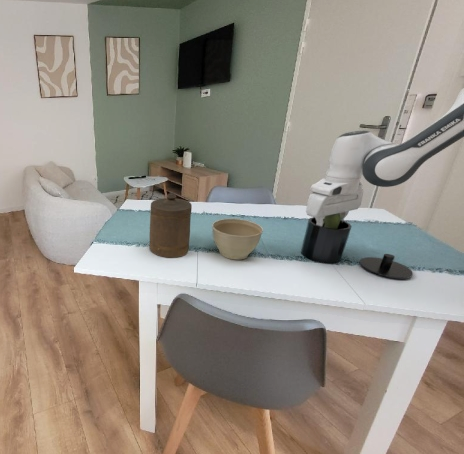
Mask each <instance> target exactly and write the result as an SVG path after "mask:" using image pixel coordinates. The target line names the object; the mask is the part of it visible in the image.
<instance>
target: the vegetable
mask: <svg viewBox="0 0 464 454" xmlns="http://www.w3.org/2000/svg"><path fill="white" fill-rule="evenodd" d="M324 223H325V225H324V227H326V228H332V229H337V228H338V226H339V223H340V213H337V214H333V215H328V216H325V218H324Z"/></svg>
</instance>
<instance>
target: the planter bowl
mask: <svg viewBox="0 0 464 454" xmlns="http://www.w3.org/2000/svg"><path fill="white" fill-rule="evenodd" d="M211 228H212V237H213V241H214V244H215V246H216V247H217V249H218V251H219V255H221V256H222V257H224V258H226V259H229V260H235V261H236V260H237V261H238V260H244V259H247V258H248V256H249V254H251V253H252V252H253V251H254V250H255V249H256V248H257V246H258V245H259V243H260V241H261V239H262V234H263V232H264V228H263V227H262V226H261V225H260V224H258V223H256V222H253V221H250V220H247V219H241V218H221V219H217V220H216V221H214V222H213V223H212V226H211Z"/></svg>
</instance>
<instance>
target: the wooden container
mask: <svg viewBox="0 0 464 454" xmlns="http://www.w3.org/2000/svg"><path fill="white" fill-rule="evenodd" d="M192 209H193V208H192V203H191V202H190V201H188V200H185V199H181V198H177V195H176V194H175V193H173V192H170V193H167V194H166V197H164V198H158V199H155V200H153V201H151V202H150V215H149V251H150V252H151V253H153V254H154V255H156V256H159V257H163V258H179V257H182V256H183V257H184V256H186V254H188V253H189V250H190V240H191V217H192Z"/></svg>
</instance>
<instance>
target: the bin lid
mask: <svg viewBox="0 0 464 454" xmlns="http://www.w3.org/2000/svg"><path fill="white" fill-rule="evenodd" d="M394 259H395V255H393V254H392V253H391V254H390V253H384V254H383V256H382V257H376V256H375V257H374V256H366V257H362V258H360V259H359V261H358V263H359V266H361V268H363V269H364V270H366V271H368V272H371V273H373V274H374V275H378V276H380V277H384V278H390V279H397V280H405V279H410V278H412V276H413V274H414V272H413V271H412V270H411V268H409V267H407V266H406V265H404V264H403V263H400V262H397V261H394Z"/></svg>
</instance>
